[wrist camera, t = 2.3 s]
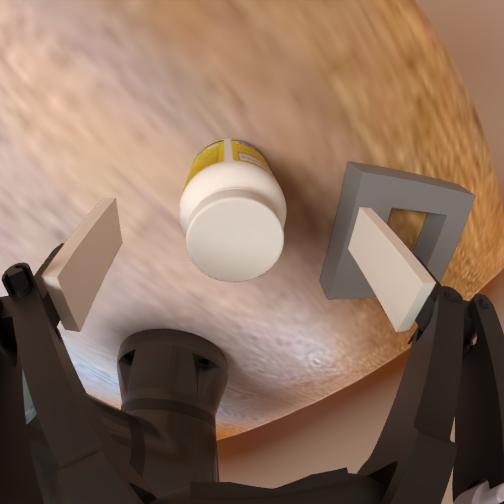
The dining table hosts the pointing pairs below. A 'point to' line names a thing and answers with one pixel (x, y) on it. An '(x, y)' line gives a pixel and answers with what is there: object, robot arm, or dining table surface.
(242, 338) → the dining table surface
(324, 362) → the dining table surface
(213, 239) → the pill bottle
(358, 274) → the bottle holder
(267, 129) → the dining table surface
